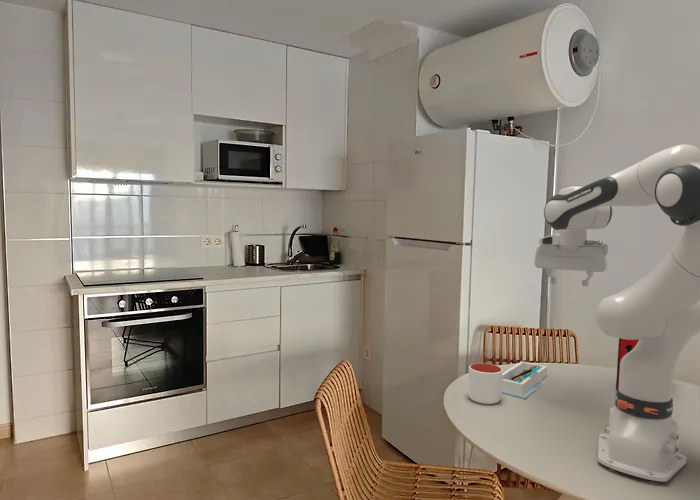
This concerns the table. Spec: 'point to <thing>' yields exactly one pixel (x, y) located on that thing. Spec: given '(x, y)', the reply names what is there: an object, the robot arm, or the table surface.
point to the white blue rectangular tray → (524, 387)
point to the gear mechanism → (525, 373)
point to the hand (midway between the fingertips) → (568, 284)
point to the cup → (485, 383)
